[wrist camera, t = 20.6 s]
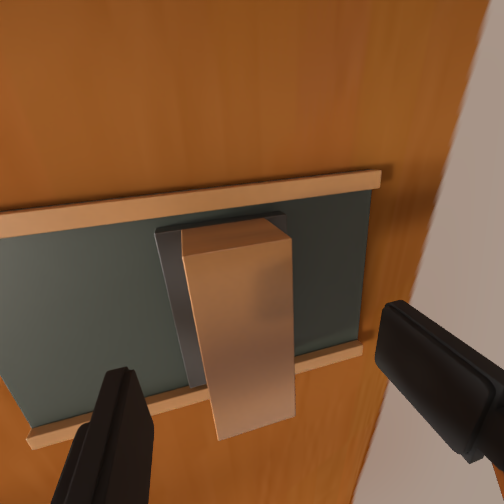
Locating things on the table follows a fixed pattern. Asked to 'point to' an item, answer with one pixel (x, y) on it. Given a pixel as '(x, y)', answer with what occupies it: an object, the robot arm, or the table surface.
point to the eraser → (234, 315)
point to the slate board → (160, 290)
